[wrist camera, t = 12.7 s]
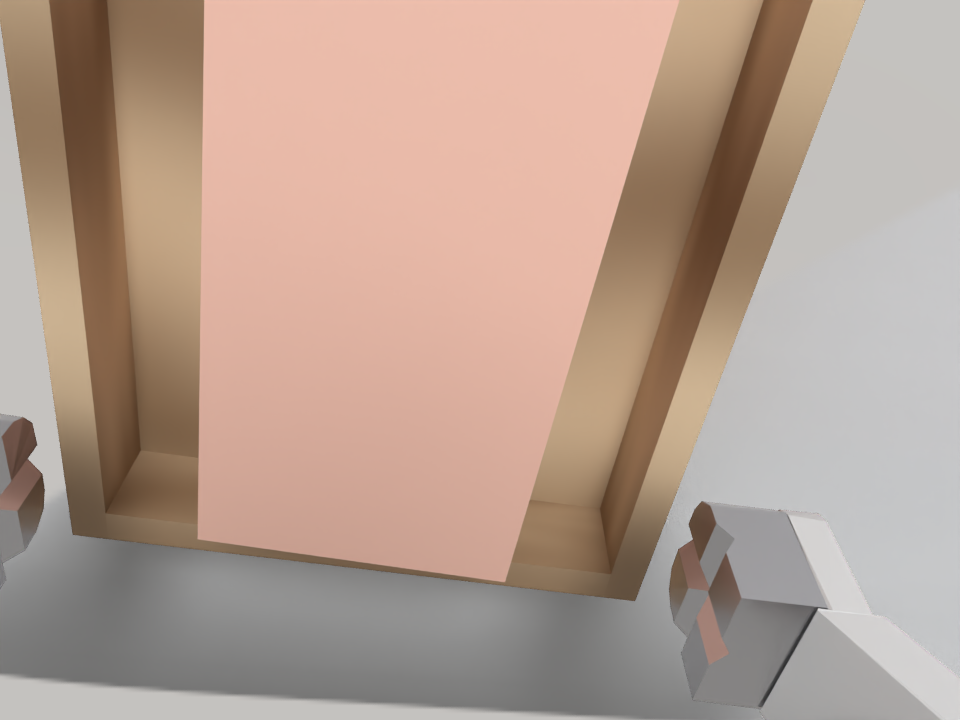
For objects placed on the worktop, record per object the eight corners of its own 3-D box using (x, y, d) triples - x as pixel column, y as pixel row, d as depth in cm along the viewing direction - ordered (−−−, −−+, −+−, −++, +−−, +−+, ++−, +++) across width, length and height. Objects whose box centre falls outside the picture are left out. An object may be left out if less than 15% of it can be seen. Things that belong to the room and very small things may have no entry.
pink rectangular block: (301, -415, 9) (211, -536, 6) (697, -315, 9) (794, -381, 6) (255, 398, 15) (197, 539, 12) (501, 437, 15) (504, 582, 12)
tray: (19, -792, 8) (-147, -1013, 6) (974, -560, 9) (1126, -682, 7) (125, 444, 16) (72, 534, 14) (616, 506, 17) (634, 600, 15)
